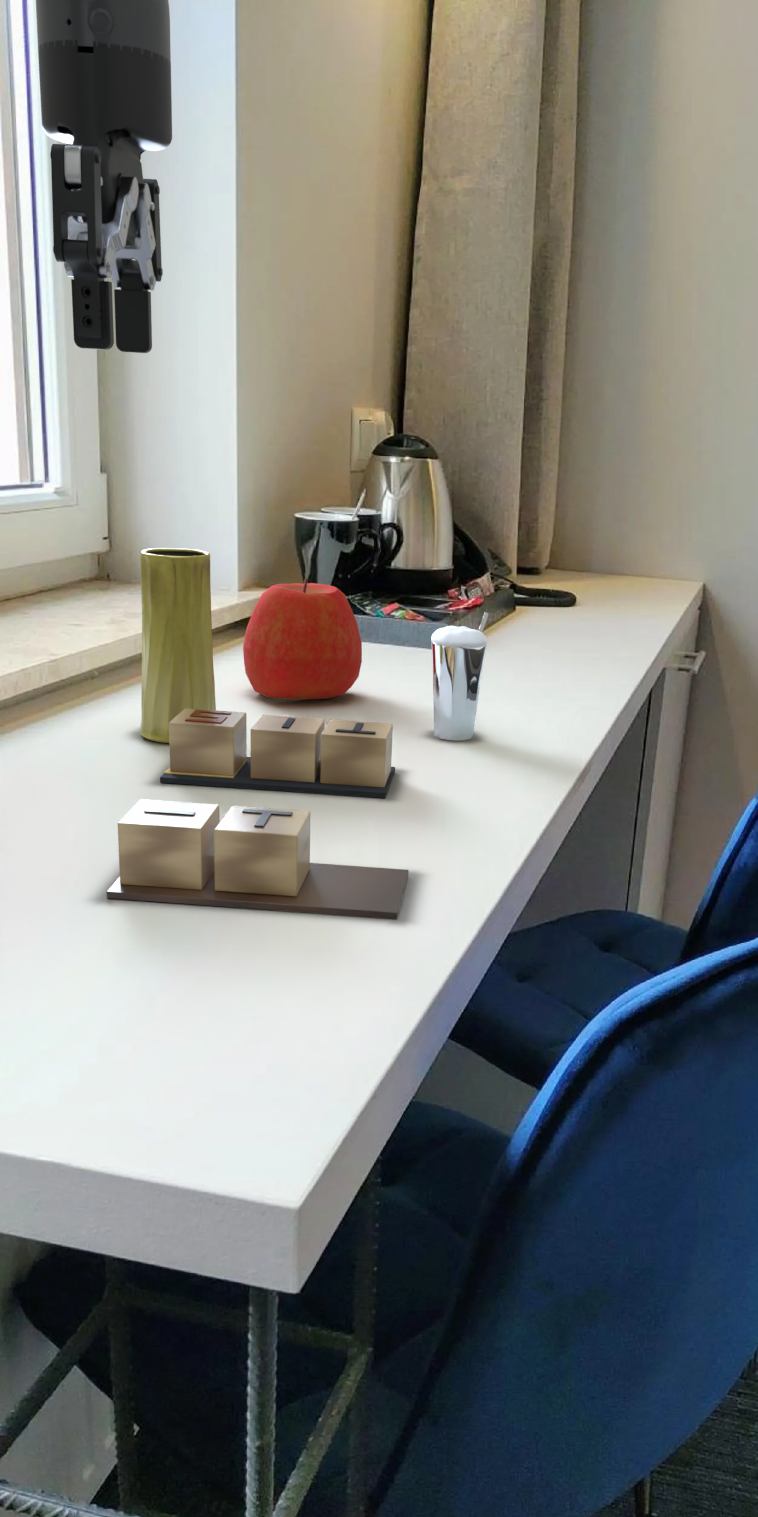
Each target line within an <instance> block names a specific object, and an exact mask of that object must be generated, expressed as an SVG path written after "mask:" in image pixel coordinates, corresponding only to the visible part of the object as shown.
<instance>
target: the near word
mask: <svg viewBox="0 0 758 1517" xmlns="http://www.w3.org/2000/svg"><path fill="white" fill-rule="evenodd" d="M311 815H312V814H311V811H310V810H301V809H300V810H299V809H286V808H271V807H257V806H246V805H245V806H243V805H231V806H230V808H228V810H227V811H226V813H225V815H224V816H223V817H222V818H221V819H220V804H217V803H202V802H191V801H189V802H188V801H174V800H161V799H145V798H141V799H139V800H138V801H137V802H136V803H135V804H134V805H133V807H131V809H129V811H127V813H126V814H125V815H124V816H123V817H122V818H121V819H119V821H118V822H117V841H118V844H117V845H118V869H119V871H118V872H119V876H118V877H117V879H115V881H114V882H113V884H111V886H110V887H109V888H108V889H107V890H106V899H113V900H114V899H115V900H116V899H117V900H127V901H143V902H158V903H171V904H182V905H183V904H185V905H197V906H212V907H226V908H238V909H239V908H241V909H253V910H255V909H256V910H268V911H278V912H279V911H280V912H281V911H282V912H296V913H306V914H307V913H310V914H321V915H322V914H324V915H337V916H349V917H351V916H352V917H365V918H378V919H389V920H390V919H392V920H397V919H398V916H399V913H400V909H401V905H402V901H403V897H404V893H405V890H406V886H407V882H408V878H409V872H410V871H409V869H404V868H403V869H402V868H389V867H373V866H360V865H348V864H345V865H344V864H333V863H332V864H331V863H317V862H310V861H311V818H312V817H311Z"/></svg>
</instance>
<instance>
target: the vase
mask: <svg viewBox="0 0 758 1517" xmlns="http://www.w3.org/2000/svg"><path fill="white" fill-rule="evenodd" d="M140 579H141V580H140V583H141V584H140V586H141V587H140V588H141V590H140V591H141V592H140V593H141V721H140V729H139V730H140V731H139V733H140V735H141V736H142V737H143V738H145V739H147V740H148V741H152V742H157V743H163V744H169V722H171V721H172V720H173V719H174V718H175V717H176V716H177V715H178V714H179V713H181V712H182V711H183V710H184V709H185V708H187V709H202V710H217V708H216V707H217V704H216V703H217V702H216V684H215V670H214V668H215V667H214V653H213V652H214V651H213V650H214V649H213V648H214V647H213V646H214V645H213V622H212V592H211V591H212V590H211V553H210V552H209V551H207V550H206V551H205V550H203V549H202V550H200V549H194V548H193V549H192V548H180V547H179V548H178V547H155V548H153V547H151V548H146V549H142V550H141V551H140Z"/></svg>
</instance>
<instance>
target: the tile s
mask: <svg viewBox="0 0 758 1517" xmlns="http://www.w3.org/2000/svg"><path fill="white" fill-rule="evenodd" d="M247 743H248V742H247V712H246V711H245V712H244V711H229V710H218V709H216V710H202V709H187V708H185V709H184V710H183V711H182V712H181V713H179V714H178V715H177V716H176V717H175V718H174V719H173V720H172V721H171V722H169V743H168V744H169V767H170V771H171V772H184V773H198V774H212V775H227V776H234V774H235V773H236V772H237V771H238V769H239V768H240V767H241V766H242V764H243V763H244V762H245V761H246V759H247V757H248V756H247V755H248V754H247V753H248V752H247V749H248V748H247Z"/></svg>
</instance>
